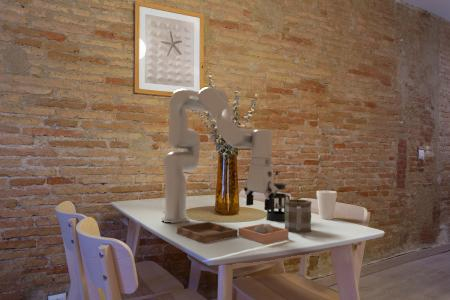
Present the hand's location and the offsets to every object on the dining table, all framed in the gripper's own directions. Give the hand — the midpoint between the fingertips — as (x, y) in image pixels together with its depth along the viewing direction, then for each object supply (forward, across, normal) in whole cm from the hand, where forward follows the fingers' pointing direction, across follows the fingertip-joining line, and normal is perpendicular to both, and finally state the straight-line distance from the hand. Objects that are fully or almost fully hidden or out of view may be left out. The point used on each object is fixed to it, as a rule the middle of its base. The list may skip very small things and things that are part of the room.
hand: (258, 207), depth 129 cm
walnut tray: (+12, +12, +15) cm, 22 cm away
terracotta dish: (+11, -3, 0) cm, 11 cm away
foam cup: (+11, +4, -52) cm, 53 cm away
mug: (+11, -4, -19) cm, 22 cm away
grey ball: (+10, -3, +2) cm, 11 cm away
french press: (+12, +16, -30) cm, 36 cm away
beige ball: (+10, -3, -2) cm, 11 cm away
